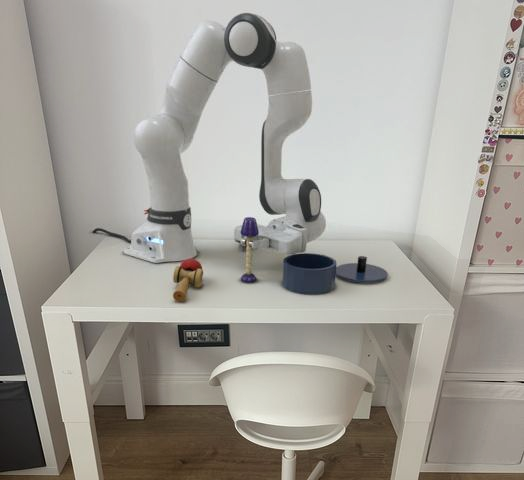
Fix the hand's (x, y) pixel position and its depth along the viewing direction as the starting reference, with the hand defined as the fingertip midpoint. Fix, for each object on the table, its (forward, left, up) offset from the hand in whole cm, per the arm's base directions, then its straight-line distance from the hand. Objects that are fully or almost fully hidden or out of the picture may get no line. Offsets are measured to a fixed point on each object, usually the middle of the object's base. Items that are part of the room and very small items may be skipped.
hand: (246, 244), depth 128 cm
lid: (+25, +20, -10) cm, 34 cm away
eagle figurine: (-15, +28, -10) cm, 33 cm away
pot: (+15, +6, -10) cm, 19 cm away
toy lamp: (0, +1, -10) cm, 10 cm away
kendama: (-11, -12, -10) cm, 19 cm away
